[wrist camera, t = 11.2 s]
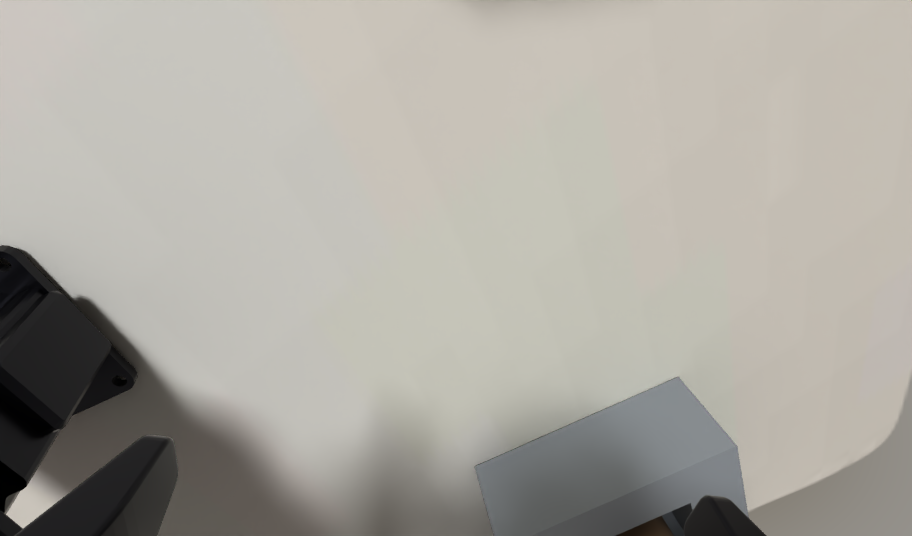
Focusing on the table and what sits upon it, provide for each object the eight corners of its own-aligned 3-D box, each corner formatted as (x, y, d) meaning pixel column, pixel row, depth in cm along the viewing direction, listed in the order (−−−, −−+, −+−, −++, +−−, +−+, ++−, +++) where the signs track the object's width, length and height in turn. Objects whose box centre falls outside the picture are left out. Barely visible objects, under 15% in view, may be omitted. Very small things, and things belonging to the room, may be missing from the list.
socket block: (538, 575, 32) (565, 657, 28) (474, 466, 27) (498, 550, 23) (706, 501, 32) (757, 574, 28) (678, 376, 26) (737, 445, 23)
